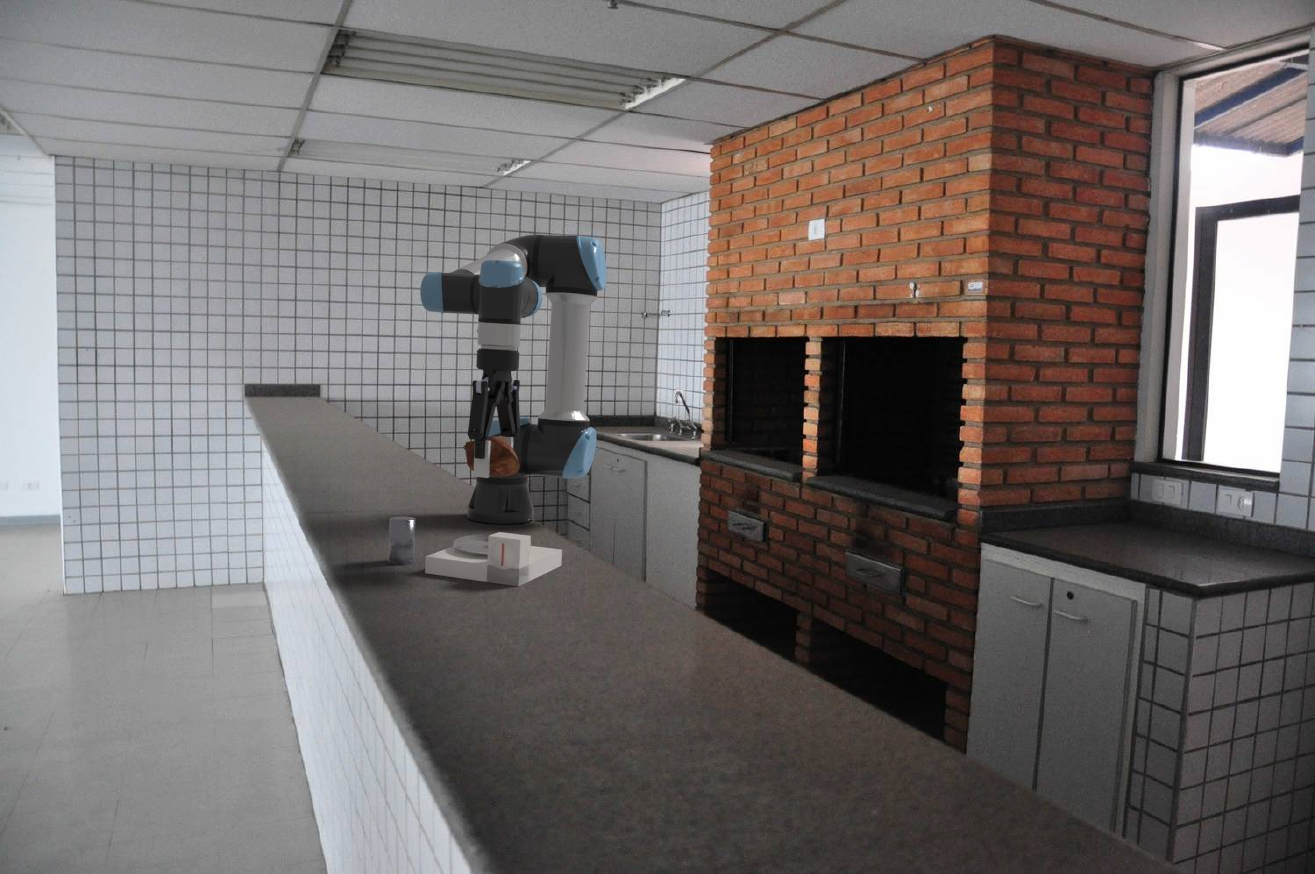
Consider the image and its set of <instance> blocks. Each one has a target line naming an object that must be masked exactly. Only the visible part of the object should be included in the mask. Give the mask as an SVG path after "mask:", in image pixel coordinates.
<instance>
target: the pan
mask: <svg viewBox="0 0 1315 874" xmlns="http://www.w3.org/2000/svg"><path fill="white" fill-rule="evenodd" d="M490 535H491V534H473V535H471V534H470V535H465V536H461V537H458V538H456V539H454V540H453V543H452V544H453V546H452V547H454V548H455V549H457V550H459V551H462V552H467V553H472V554H481V555H488V536H490ZM531 546H532V541H531V542H530V549H531Z"/></svg>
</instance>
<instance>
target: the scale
mask: <svg viewBox="0 0 1315 874" xmlns="http://www.w3.org/2000/svg"><path fill="white" fill-rule="evenodd" d="M489 535H490V536H488V555H481V554H472V553H467V552H462V551H459V550H457V549H455V548H454V547H453V546H451V547H448V548H445V549H442V550H439V551H437V552H435V553H431V554H428V555H426V556H425V564H424V574H428V575H437V576H441V577H443V576H444V577H450V578H456V579H463V580H470V581H471V580H472V581H479V582H483V583H492V584H499V585H505V586H514V587H520V586H522V585H524V584H526V583H529V582H531V581H533V580H535V579H537V578H539V577H541V576H543V575H545V574H547V573H549V572H551V571H553V570H555V569H557V568H559V567H562V561H563V559H562V558H563V557H562V556H563V549H560V548H551V547H543V546H535V545H531V549H530V542H531V543H532V541H531V537H532V535H526V534H519V533H518V534H517V533H509V532H503V531H502V532H501V531H499V532H495V533H493V534H489Z"/></svg>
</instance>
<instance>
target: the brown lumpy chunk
mask: <svg viewBox="0 0 1315 874" xmlns="http://www.w3.org/2000/svg"><path fill="white" fill-rule="evenodd" d="M487 441H491V445H490V468H489V476H492V477H502V476H509V475H512V474H516V473H517V472H518V470H519V468H520V463H519V461H518V458H517V455H516V453H515V451H514V450H513V448H512V447H511V446H510V444H509V443H507V442H506V441H505V440H503V439H501V438H499V437H496V436H492V437H491V438H488V440H487ZM462 449H464V452H465V458H466V463H467V466H468V468H469V469H470V470H471V471H472V472H474V450H475V440H470V441H466V442H465V444H464V445H463V447H462Z"/></svg>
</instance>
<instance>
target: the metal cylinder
mask: <svg viewBox="0 0 1315 874" xmlns="http://www.w3.org/2000/svg"><path fill="white" fill-rule="evenodd" d="M416 519H417V518H415V517H411V516H392V517H389V524H388V525H389V527H388V552H387V553H388V558H387V563H388V564H389V565H392V566H393V565H394V566H407V565H413V564H415V553H416V551H415V550H416V522H417V520H416Z"/></svg>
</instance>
